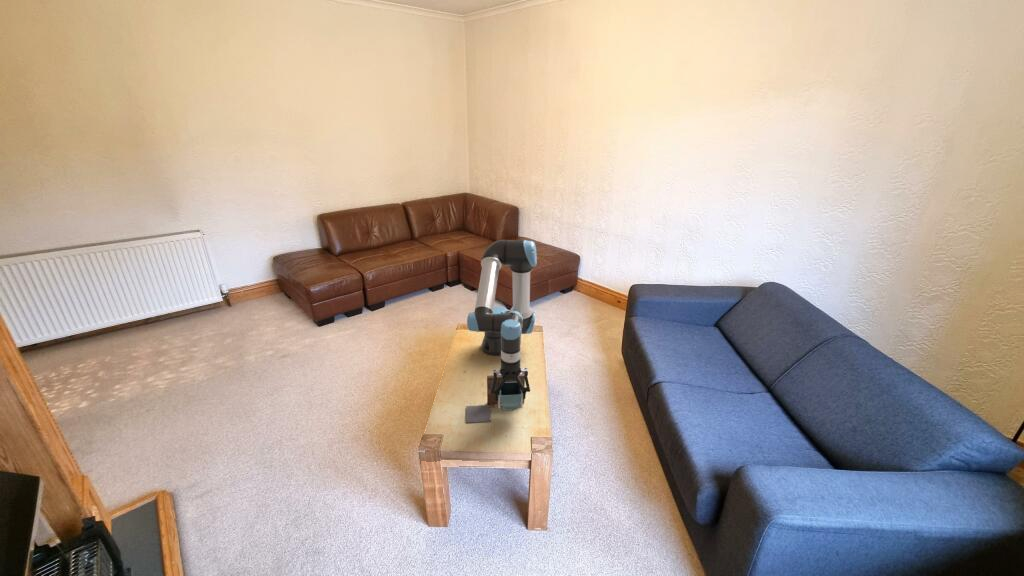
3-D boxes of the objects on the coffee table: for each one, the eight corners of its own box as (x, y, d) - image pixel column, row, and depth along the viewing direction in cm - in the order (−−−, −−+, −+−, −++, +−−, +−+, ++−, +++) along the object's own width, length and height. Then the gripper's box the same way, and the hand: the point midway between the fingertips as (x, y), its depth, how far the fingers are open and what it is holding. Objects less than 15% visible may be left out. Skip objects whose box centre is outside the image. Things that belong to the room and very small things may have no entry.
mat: (466, 407, 169) (466, 406, 169) (489, 406, 170) (489, 404, 170) (466, 423, 160) (466, 422, 160) (490, 421, 161) (490, 420, 161)
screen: (487, 399, 174) (486, 372, 169) (523, 397, 176) (523, 371, 171) (487, 408, 169) (487, 380, 164) (524, 406, 170) (525, 379, 165)
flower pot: (498, 399, 166) (498, 382, 162) (519, 398, 167) (520, 381, 163) (500, 414, 158) (499, 395, 154) (522, 413, 158) (522, 394, 155)
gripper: (483, 365, 149) (484, 413, 158) (539, 362, 151) (537, 410, 159) (482, 354, 156) (484, 400, 164) (536, 352, 157) (534, 398, 166)
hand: (510, 405), depth 162 cm, fingers closed on flower pot, 8 cm apart
